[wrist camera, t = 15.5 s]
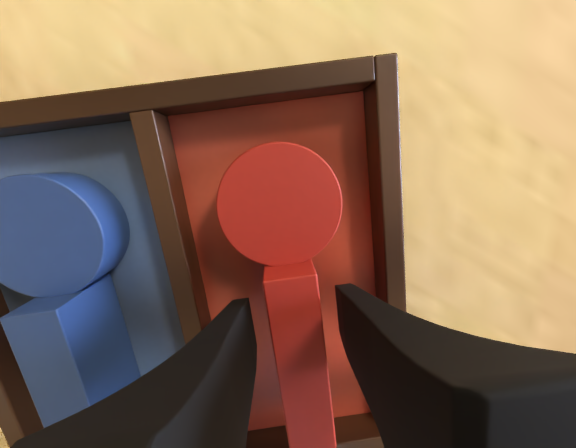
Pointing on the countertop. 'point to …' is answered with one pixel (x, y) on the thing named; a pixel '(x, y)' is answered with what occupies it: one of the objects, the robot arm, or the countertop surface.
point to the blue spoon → (65, 289)
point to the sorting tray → (203, 216)
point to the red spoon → (288, 269)
